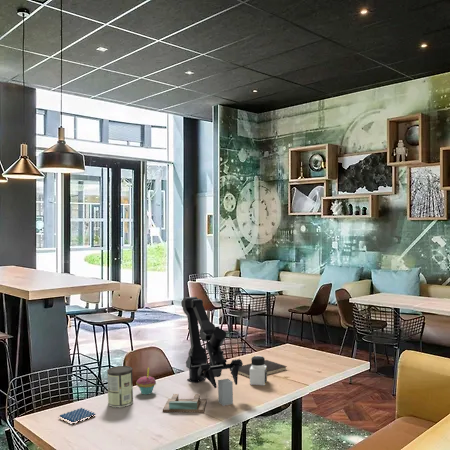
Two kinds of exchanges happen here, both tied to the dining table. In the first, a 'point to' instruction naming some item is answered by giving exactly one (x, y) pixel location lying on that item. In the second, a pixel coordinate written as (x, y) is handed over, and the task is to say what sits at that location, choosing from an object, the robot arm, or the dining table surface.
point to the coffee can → (120, 386)
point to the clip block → (225, 392)
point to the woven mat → (77, 415)
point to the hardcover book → (271, 366)
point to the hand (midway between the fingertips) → (226, 386)
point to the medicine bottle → (258, 371)
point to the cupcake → (146, 383)
